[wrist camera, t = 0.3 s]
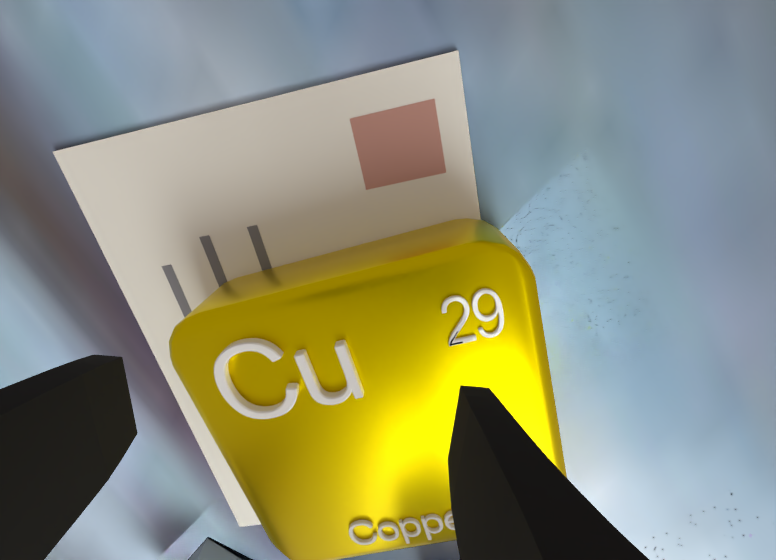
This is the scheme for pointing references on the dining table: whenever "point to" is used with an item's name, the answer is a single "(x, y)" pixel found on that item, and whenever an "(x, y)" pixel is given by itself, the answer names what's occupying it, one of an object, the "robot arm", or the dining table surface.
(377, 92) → the letter
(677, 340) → the dining table surface
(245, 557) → the cube
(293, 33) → the dining table surface
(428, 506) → the element tile
